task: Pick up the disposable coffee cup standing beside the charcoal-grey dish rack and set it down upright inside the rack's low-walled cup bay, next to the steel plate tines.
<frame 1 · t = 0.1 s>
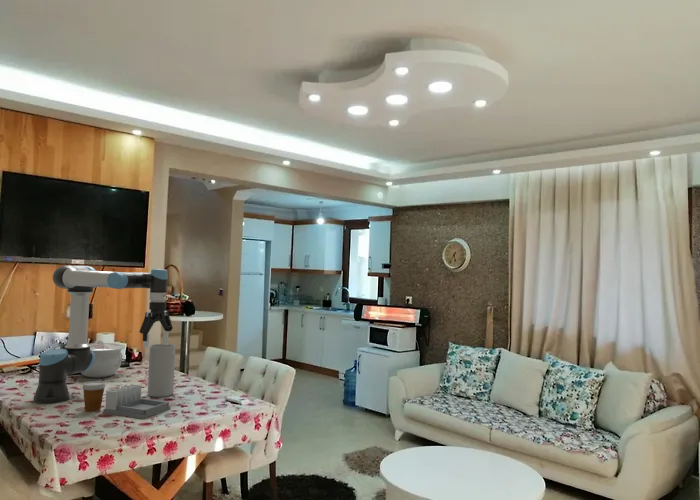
hand: (155, 346, 256), 28 cm above the table, tool pointing down, fingers open, 13 cm apart
dish rack: (137, 410, 246), on the table
chamber pot: (99, 375, 319), on the table
disposable coffee cup: (92, 410, 245), on the table
cylinder vase: (160, 394, 278), on the table
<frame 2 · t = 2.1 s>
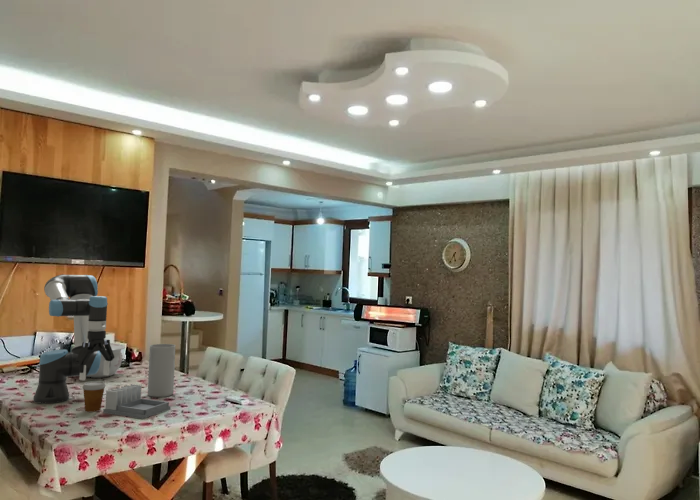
hand: (94, 377, 245), 15 cm above the table, tool pointing down, fingers open, 13 cm apart
nothing on the table moved.
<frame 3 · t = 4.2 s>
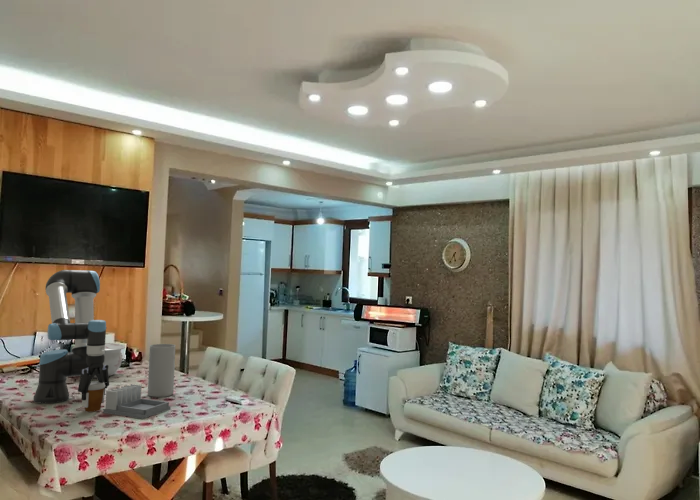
hand: (93, 404, 245), 2 cm above the table, tool pointing down, fingers closed on disposable coffee cup, 8 cm apart
disposable coffee cup: (92, 410, 245), on the table, touching gripper
everything else where it was.
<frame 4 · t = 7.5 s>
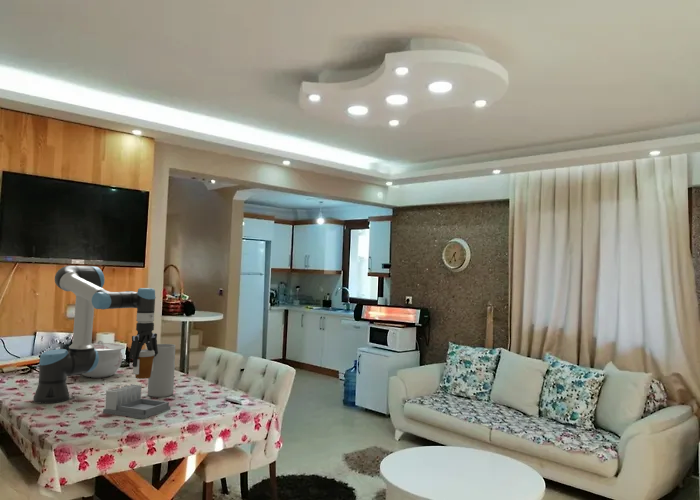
hand: (143, 372, 245), 18 cm above the table, tool pointing down, fingers closed on disposable coffee cup, 8 cm apart
disposable coffee cup: (142, 377, 245), point 15 cm above the table, touching gripper
everything else where it was.
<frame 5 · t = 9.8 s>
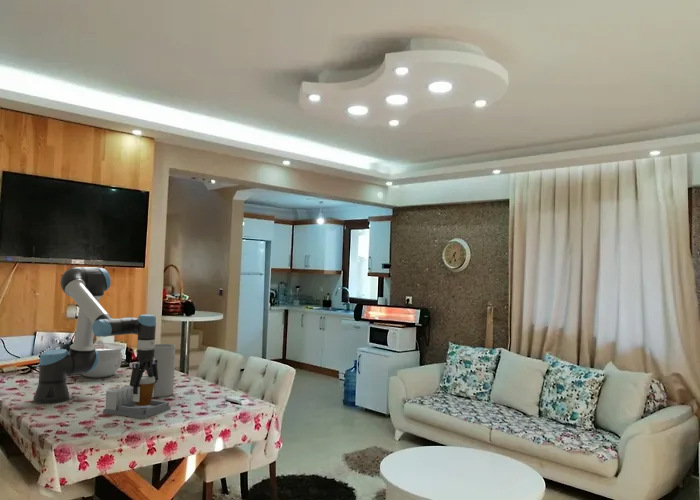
hand: (143, 399, 245), 6 cm above the table, tool pointing down, fingers closed on disposable coffee cup, 8 cm apart
disposable coffee cup: (143, 404, 245), point 3 cm above the table, touching gripper
everything else where it was.
when the fingers open (5 cm above the table, at t = 10.8 s): disposable coffee cup moves 3 cm, point 2 cm above the table.
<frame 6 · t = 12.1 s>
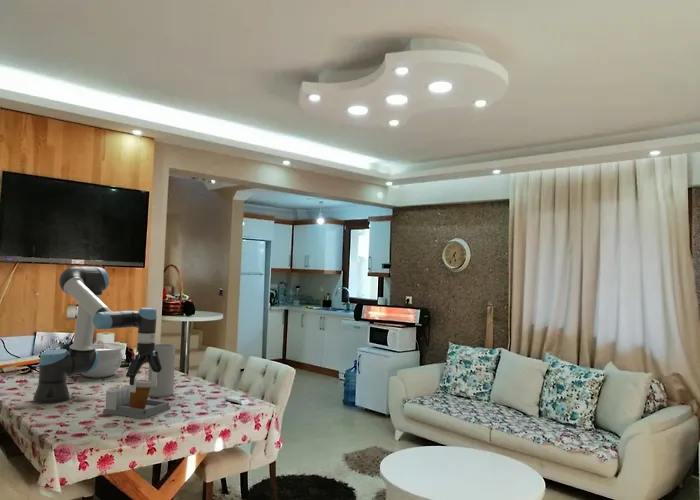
hand: (143, 389, 245), 10 cm above the table, tool pointing down, fingers open, 13 cm apart
disposable coffee cup: (137, 409, 242), point 2 cm above the table, touching gripper
everything else where it was.
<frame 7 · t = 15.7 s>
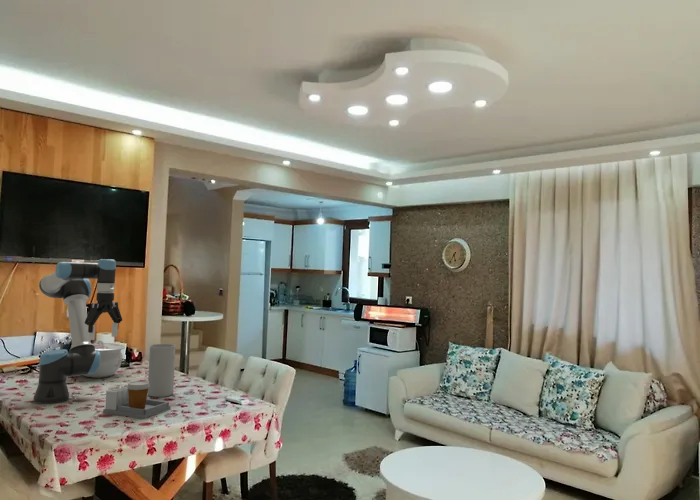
hand: (103, 338, 251), 32 cm above the table, tool pointing down, fingers open, 13 cm apart
disposable coffee cup: (137, 410, 242), point 1 cm above the table, touching dish rack
everything else where it was.
at the end: disposable coffee cup inside the target area on the dish rack (3.3 cm from its centre), point 1.3 cm above the dish rack's base; disposable coffee cup tilted 0°; the gripper is holding nothing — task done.
